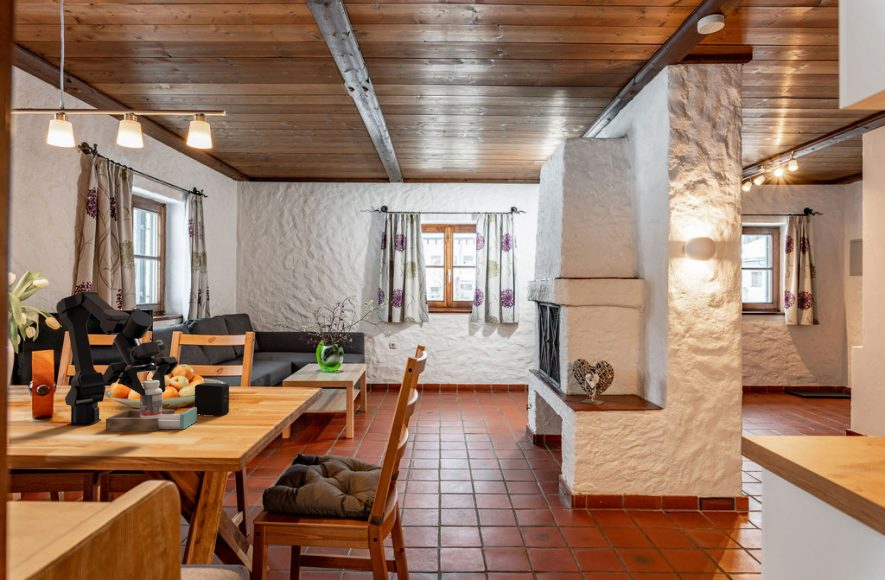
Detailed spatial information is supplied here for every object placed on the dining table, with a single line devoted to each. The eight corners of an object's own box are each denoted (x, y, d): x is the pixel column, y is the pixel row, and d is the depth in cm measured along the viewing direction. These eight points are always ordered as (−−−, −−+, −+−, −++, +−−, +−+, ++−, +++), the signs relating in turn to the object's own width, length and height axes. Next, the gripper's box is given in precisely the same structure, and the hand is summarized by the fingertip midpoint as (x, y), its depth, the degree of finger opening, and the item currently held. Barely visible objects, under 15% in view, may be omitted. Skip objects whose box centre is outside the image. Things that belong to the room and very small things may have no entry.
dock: (105, 431, 159) (105, 418, 159) (127, 421, 171) (127, 409, 171) (156, 431, 160) (156, 418, 160) (174, 421, 172) (174, 409, 172)
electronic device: (221, 416, 178) (221, 386, 178) (194, 414, 180) (194, 384, 180) (229, 413, 182) (229, 383, 182) (202, 412, 184) (202, 382, 184)
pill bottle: (135, 417, 149) (135, 381, 149) (152, 413, 154) (152, 378, 154) (149, 419, 147) (150, 383, 147) (166, 415, 152) (166, 380, 152)
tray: (138, 429, 161) (138, 414, 161) (153, 421, 170) (153, 407, 170) (184, 429, 162) (184, 414, 162) (196, 421, 171) (196, 407, 171)
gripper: (109, 333, 144) (132, 379, 139) (174, 328, 160) (198, 370, 155) (92, 360, 148) (115, 406, 143) (158, 353, 164) (180, 394, 159)
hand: (154, 393), depth 150 cm, fingers closed on pill bottle, 5 cm apart
